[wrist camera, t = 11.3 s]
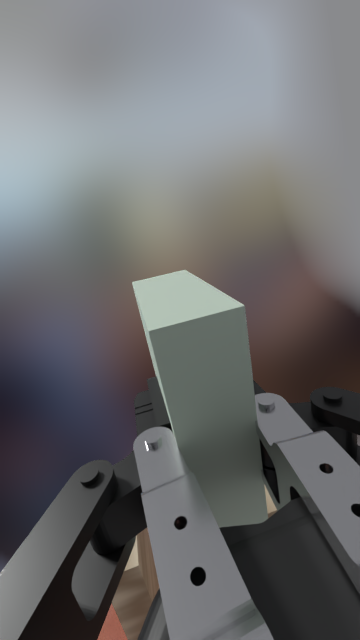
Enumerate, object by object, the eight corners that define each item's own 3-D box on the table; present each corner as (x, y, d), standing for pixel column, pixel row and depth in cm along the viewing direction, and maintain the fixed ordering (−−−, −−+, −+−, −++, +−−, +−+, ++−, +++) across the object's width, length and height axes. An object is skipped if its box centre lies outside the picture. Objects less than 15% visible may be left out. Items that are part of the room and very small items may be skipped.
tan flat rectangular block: (155, 702, 22) (101, 580, 18) (147, 608, 28) (105, 498, 23) (184, 688, 22) (138, 565, 18) (170, 599, 28) (133, 488, 24)
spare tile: (228, 649, 12) (148, 331, 6) (191, 512, 17) (132, 282, 12) (279, 625, 12) (244, 305, 7) (227, 499, 18) (184, 269, 12)
